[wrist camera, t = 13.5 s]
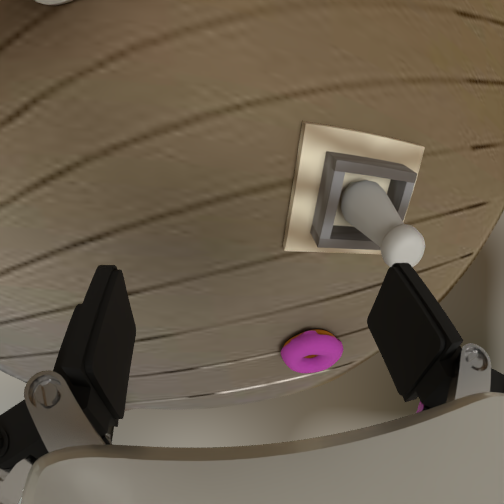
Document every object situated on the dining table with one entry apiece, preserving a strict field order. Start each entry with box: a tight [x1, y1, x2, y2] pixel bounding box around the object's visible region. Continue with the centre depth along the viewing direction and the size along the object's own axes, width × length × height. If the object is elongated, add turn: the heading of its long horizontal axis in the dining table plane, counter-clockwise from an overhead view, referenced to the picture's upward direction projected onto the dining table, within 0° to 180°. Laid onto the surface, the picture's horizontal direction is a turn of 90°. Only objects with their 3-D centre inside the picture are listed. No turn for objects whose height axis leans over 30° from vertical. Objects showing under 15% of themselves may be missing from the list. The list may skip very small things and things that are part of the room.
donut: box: [281, 329, 343, 373], centre depth 50 cm, size 10×10×5 cm
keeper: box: [283, 121, 425, 254], centre depth 35 cm, size 16×16×5 cm
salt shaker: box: [341, 180, 425, 267], centre depth 30 cm, size 6×6×13 cm
